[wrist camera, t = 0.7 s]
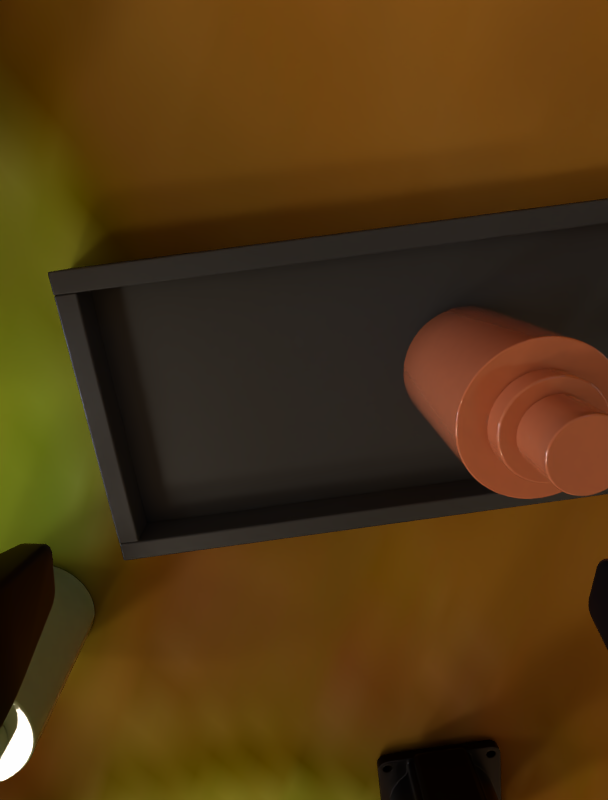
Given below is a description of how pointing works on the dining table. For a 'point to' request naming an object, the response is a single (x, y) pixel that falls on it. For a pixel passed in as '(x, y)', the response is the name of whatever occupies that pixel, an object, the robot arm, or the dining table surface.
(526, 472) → the terracotta bottle
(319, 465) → the tray
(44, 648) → the green bottle
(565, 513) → the dining table surface
